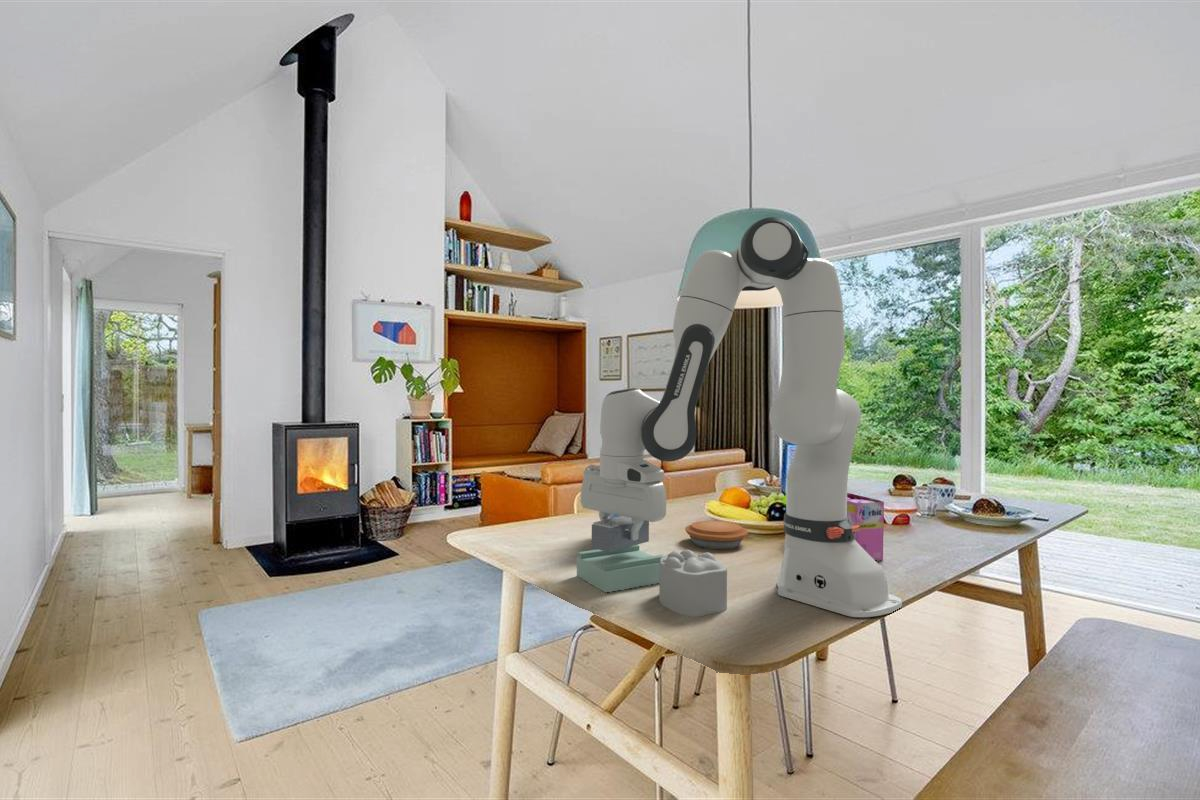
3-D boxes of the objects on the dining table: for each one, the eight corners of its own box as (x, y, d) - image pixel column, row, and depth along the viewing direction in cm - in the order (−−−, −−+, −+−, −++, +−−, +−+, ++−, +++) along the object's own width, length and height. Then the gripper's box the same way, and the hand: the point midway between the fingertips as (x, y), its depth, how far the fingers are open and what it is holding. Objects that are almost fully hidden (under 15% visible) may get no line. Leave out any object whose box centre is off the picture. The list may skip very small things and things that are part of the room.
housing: (610, 552, 115) (610, 526, 114) (591, 547, 118) (591, 522, 118) (648, 541, 123) (649, 517, 123) (630, 537, 127) (630, 513, 127)
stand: (666, 581, 119) (666, 557, 119) (606, 593, 112) (606, 566, 112) (634, 566, 129) (634, 543, 129) (576, 575, 122) (576, 551, 122)
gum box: (792, 538, 156) (793, 486, 156) (818, 536, 158) (819, 485, 158) (855, 563, 133) (856, 502, 133) (884, 560, 135) (885, 501, 135)
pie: (674, 538, 155) (674, 519, 155) (727, 534, 159) (728, 516, 159) (702, 554, 140) (702, 533, 140) (759, 549, 145) (760, 528, 145)
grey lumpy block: (685, 619, 100) (685, 567, 100) (646, 595, 111) (646, 549, 111) (735, 609, 104) (735, 560, 104) (692, 587, 116) (692, 543, 116)
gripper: (574, 464, 125) (573, 530, 125) (651, 475, 111) (650, 549, 111) (594, 462, 130) (593, 525, 130) (671, 472, 116) (670, 542, 116)
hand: (620, 536), depth 121 cm, fingers closed on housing, 5 cm apart
